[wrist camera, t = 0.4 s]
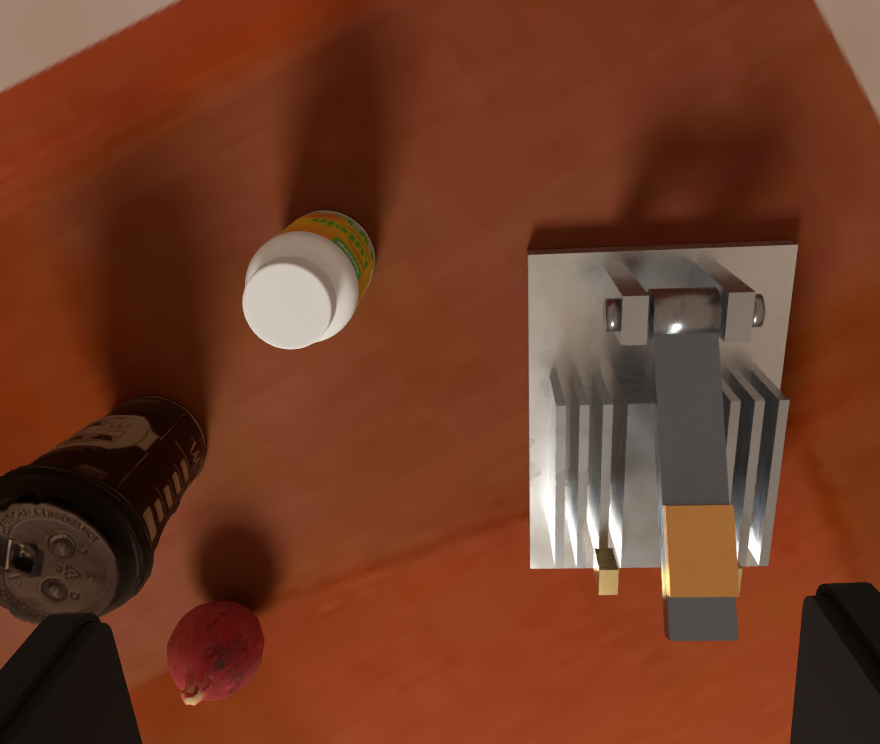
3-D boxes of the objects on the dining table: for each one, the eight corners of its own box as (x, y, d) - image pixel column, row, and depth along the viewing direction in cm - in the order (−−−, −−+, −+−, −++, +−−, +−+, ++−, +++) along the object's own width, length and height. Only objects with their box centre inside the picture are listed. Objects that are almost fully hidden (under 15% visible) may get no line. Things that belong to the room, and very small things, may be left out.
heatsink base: (526, 250, 41) (535, 284, 34) (789, 240, 40) (851, 273, 33) (529, 557, 48) (537, 635, 42) (751, 554, 48) (797, 634, 41)
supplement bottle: (395, 247, 42) (371, 294, 32) (342, 322, 43) (306, 386, 34) (313, 188, 41) (265, 220, 32) (262, 267, 42) (203, 319, 33)
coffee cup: (59, 417, 46) (-89, 537, 34) (160, 350, 44) (40, 452, 32) (151, 521, 49) (44, 666, 37) (251, 461, 47) (171, 595, 35)
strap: (643, 294, 37) (653, 283, 35) (705, 292, 37) (719, 281, 35) (661, 632, 35) (673, 644, 33) (726, 631, 35) (743, 644, 33)
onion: (236, 560, 50) (193, 645, 42) (293, 617, 51) (262, 709, 44) (174, 602, 51) (123, 691, 44) (232, 657, 53) (192, 752, 45)
